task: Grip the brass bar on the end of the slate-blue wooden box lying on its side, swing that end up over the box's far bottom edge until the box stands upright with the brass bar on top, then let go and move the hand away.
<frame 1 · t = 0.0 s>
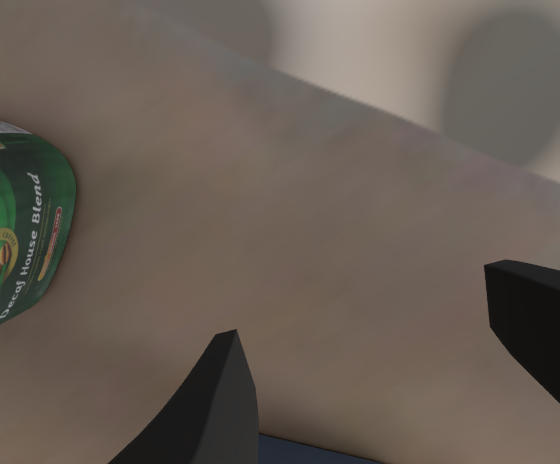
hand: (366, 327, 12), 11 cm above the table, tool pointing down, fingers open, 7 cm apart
coffee jar: (3, 215, 22), on the table
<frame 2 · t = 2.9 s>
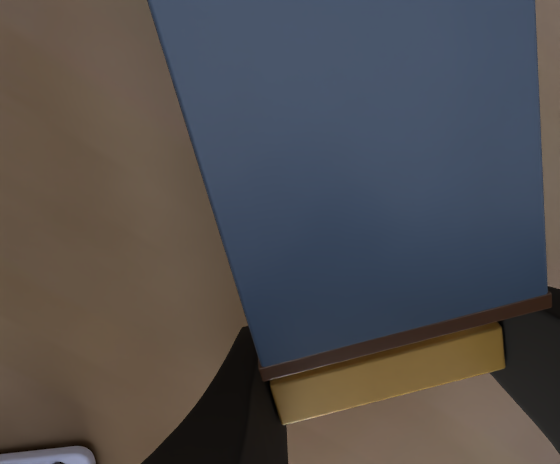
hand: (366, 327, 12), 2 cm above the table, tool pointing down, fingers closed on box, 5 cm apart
box: (339, 154, 9), point 3 cm above the table, hinge at 0.1°, touching gripper
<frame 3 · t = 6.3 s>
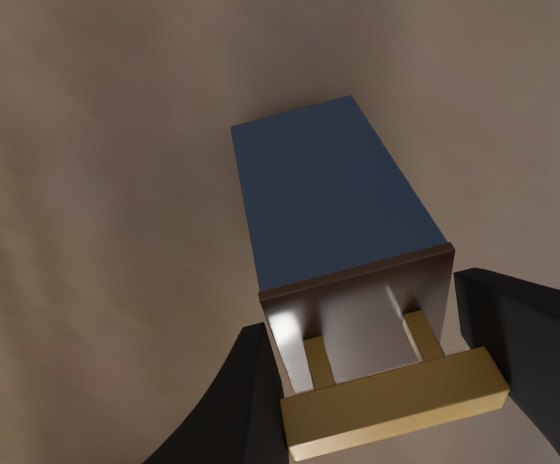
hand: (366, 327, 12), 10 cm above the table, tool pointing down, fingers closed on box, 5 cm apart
box: (336, 260, 15), point 7 cm above the table, hinge at 64.0°, touching gripper
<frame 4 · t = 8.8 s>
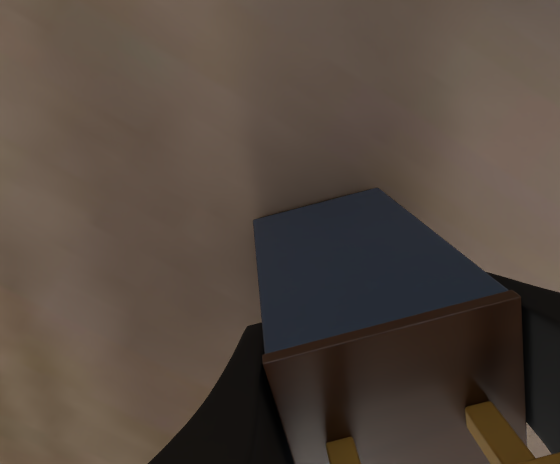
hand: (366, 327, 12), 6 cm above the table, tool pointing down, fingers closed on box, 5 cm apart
box: (370, 353, 12), point 6 cm above the table, hinge at 87.5°, touching gripper
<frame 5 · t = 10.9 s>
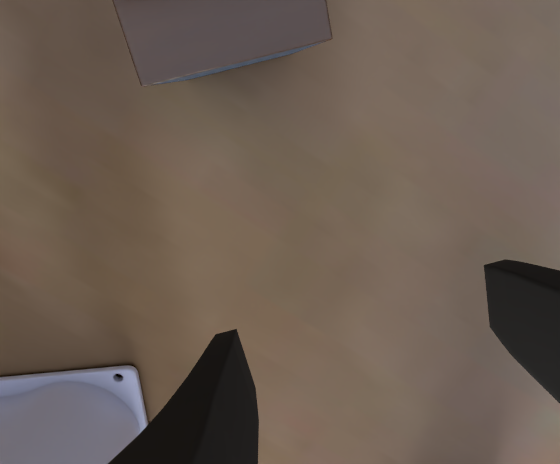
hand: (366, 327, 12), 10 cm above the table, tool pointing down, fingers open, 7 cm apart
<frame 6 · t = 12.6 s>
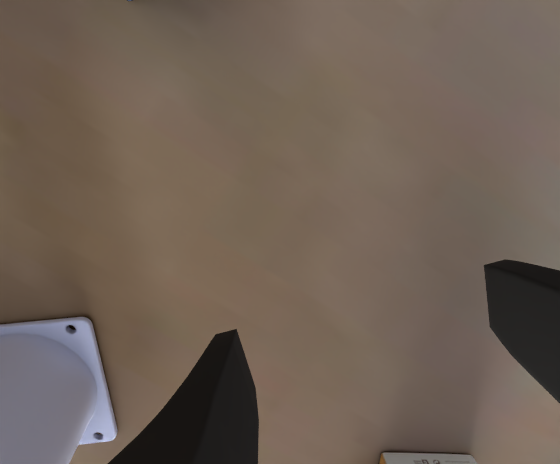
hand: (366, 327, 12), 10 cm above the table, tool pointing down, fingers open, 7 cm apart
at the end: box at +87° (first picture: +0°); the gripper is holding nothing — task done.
